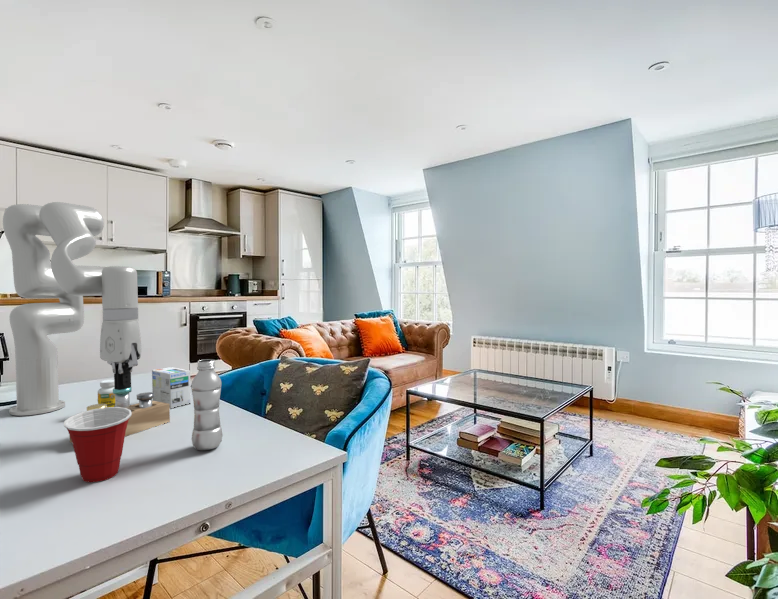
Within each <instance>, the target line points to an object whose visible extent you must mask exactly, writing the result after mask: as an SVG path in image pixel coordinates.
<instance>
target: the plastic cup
mask: <svg viewBox="0 0 778 599" xmlns="http://www.w3.org/2000/svg"><path fill="white" fill-rule="evenodd" d="M131 415H132V413H131V410H129V409H127V408H121V407H106V408H99V409H92V410H89V411H87V410H85V411H81V412H79V413H75V414H74V415H71V416H70V417H68V418H66V419H65V420H64V421H63V427H64V428H65V429H66V430H67V432H68V434H70V437H71V439H72V443H71V444H72V447H73V450H74V454H75V459H76V464H77V465H78V469H79V473H80V477H81V479H82V481H83V482H85V483H98V482H103V481H105V480H109V479H111V478H113V477H115V476H117V474H118V473H119V470H120V465H121V459H122V456H123V450H124V444H125V437H126V436H125V432H126V429H127V424H128V420H129V418H130V417H131Z"/></svg>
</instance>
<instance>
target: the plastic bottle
mask: <svg viewBox="0 0 778 599" xmlns="http://www.w3.org/2000/svg"><path fill="white" fill-rule="evenodd" d="M215 361H216V360H215V359H207V358H206V359H201V360H200V359H199V360H197V366H196V370H198V371H197V373H196V375H195V376H194V377H193V379H192V381H191V383H190V389H191V393H192V394H191V396H192V400H193V408H194V409H193V413H194V414H193V415H194V416H193V428H192V432H191V444H192V446H193V448H194V449H195V450H197V451H208V450H213V449H216V448H218V447H219V446H220V445H221V443H222V441H223V440H222V439H223V436H224V434H223V428H222V425H221V416H220V403H221V402H220V401H221V400H220V399H221V392H222V379H221V377H220V376H219V375H218V373H217V372H216V371H215V369H216V362H215Z"/></svg>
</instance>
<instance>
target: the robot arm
mask: <svg viewBox="0 0 778 599" xmlns="http://www.w3.org/2000/svg"><path fill="white" fill-rule="evenodd" d="M104 225H105V221H104V218H103V216H102V213H101V212H100V211H99V210H97V209H96V208H94V207H92V206H87V205H81V204H75V203H69V202H68V203H67V202H60V201H55V202H53V201H52V202H48V203H45V204H44V205H36V204H29V203H28V204H26V203H20V204H17V203H16V204H12V205H9V206H8V207H7V208H6V209H5V211H4V212H3V216H2V227H3V232H4V235H5V237H6V240H7V242H8V245H9V247H10V248H9V249H10V250H11V257H12V260H11V262H12V272H13V285H14V289H15V293H16V295H18V296H19V297H21V298H24V299H35V300H36V299H58V301H59V302H34V303H33V302H32V303H24V304H20V305H18V306H16V307H14V308H13V309H12V310H11V311H10V313H9V325H10V328H11V332H12V337H13V343H14V360H15V389H16V406H14V407H11V408H10V409H9V414H10V415H12V416H19V417H20V416H21V417H22V416H33V415H40V414H46V413H49V412H50V413H51V412H55V411H58V410H60V409H63V408H64V407H65V406H66V401H64V400H62V399H61V400H60V397H59V396H60V395H59V361H58V357H59V356H58V348H57V345H56V344H55V343H54V342H53V341H52V340H51V339H50V337H48V335H49V336H51V335H56V334H57V335H58V334H68V333H75V332H78V331H80V330H81V329H82V327H83V326H84V322H85V310H84V309H85V308H84V297H88V296H89V297H92V296H100V297H101V302H102V303H101V305H102V307H101V308H102V323H101V328H100V339H99V342H100V343H99V358H100V360H102V361H104V362H107V364H108V365H110V366H111V368H112V374H113V380H114V388H115V389H118V390H121V389H126V388H130V387H132V372H133V368H134V367H137V366H138V365H139V362H138V360H140V359H141V358H142V340H141V338H142V336H141V330H140V324H139V295H138V292H139V290H138V271H137V269H135V268H134V267H133V266H123V265H122V266H121V265H120V266H119V265H116V266H115V265H114V266H113V265H112V266H98V265H76V264H75V263H74V262H73V261H74V260H77V259H79V258H84V257H85V256H88V255H89V254H91V253H92V252H93V251H94V249H95V248H96V245H97V240H96V238H95V237H96V236H99V235H100V234H101V233H102V232H103V229H104ZM38 236H42V237H43V236H45V237H50V238H52V241H53V242H54V243H55V245H56V247H55V248H54V250H53V253H52V254H51V253H50V250H49V248H48V247H47V246H46V244H45V243H44V242H43V241H42V240H41V239H40V238H39V237H38Z"/></svg>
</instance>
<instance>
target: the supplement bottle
mask: <svg viewBox="0 0 778 599" xmlns="http://www.w3.org/2000/svg"><path fill="white" fill-rule="evenodd" d="M99 385H100V388H99V389H98V390H97V404H107V407H115V394H113V389H114V379H105V380H104V379H103V380H101V381H100V382H99Z"/></svg>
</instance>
